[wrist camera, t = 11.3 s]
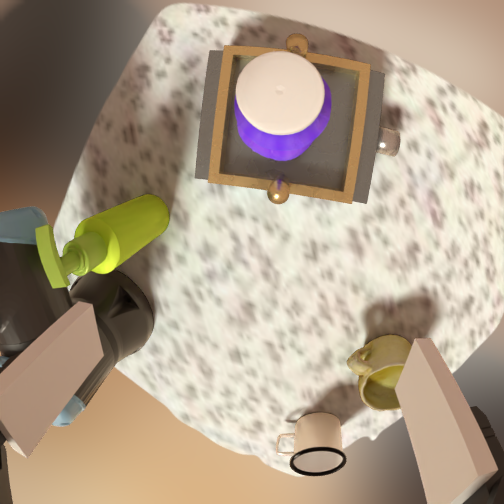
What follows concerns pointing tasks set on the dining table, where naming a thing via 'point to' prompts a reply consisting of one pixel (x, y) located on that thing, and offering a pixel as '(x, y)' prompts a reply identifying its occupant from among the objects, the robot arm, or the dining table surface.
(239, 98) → the bottle
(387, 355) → the mug
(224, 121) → the grey and tan box
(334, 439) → the mug
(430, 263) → the dining table surface
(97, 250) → the soap dispenser
